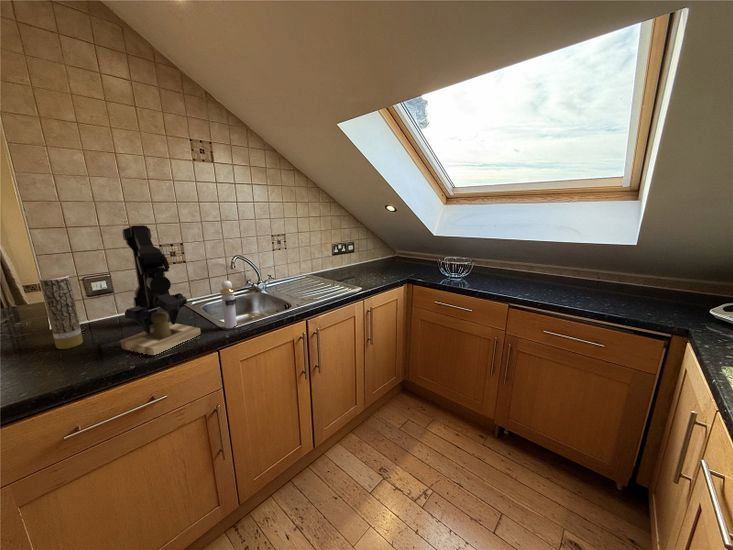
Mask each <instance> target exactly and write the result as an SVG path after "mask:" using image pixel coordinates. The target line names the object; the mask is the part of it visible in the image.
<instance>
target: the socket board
mask: <svg viewBox="0 0 733 550" xmlns="http://www.w3.org/2000/svg"><path fill="white" fill-rule="evenodd" d="M168 325H169V328H170V331H171V334H172V335H170V336H167V337H165V338H163V339H160V340H158V339H154V338H153V335H154V327H152V328H150V334H147V333H146V332H145V331H143V332H140V333H137V334H134V335H132V336H129V337H126V338H124V339H120V346H121V349H123V350H126V351H129V350H130V351H129V352H133V351H134V353H137V352H138V353H137V354H141V353H143V354H142V355H145V354H148V355H147V356H149V355H156V354H159V353H161V352H163V351H165V350H168V349H170V348H172V347H174V346H176V345H178V344H180V343H182V342H185V341H187V340H190V339H192V338H194V337H196V336H198V335H200V334H201V333H202V332H201V328H200V327H195V326H190V325H186V324H180V323H176V322H175V324H174V325H173V324H172V323H171V321H170V322H169V321H168ZM201 335H202V334H201ZM194 339H195V338H194ZM192 340H193V339H192ZM190 341H191V340H190ZM170 350H171V349H170ZM168 351H169V350H168Z"/></svg>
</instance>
